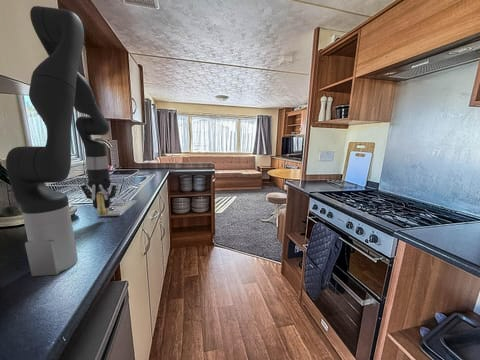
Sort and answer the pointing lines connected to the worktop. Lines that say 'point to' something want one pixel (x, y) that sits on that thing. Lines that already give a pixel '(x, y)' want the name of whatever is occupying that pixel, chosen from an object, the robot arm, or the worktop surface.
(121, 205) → the grey flat block
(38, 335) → the worktop surface
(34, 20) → the robot arm
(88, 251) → the worktop surface
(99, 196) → the pin
